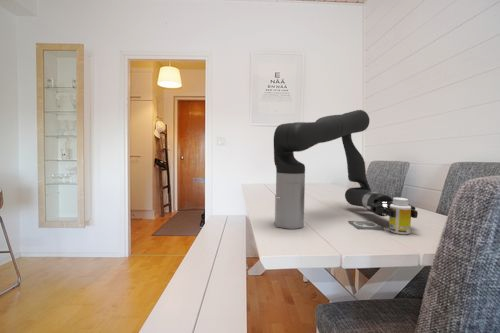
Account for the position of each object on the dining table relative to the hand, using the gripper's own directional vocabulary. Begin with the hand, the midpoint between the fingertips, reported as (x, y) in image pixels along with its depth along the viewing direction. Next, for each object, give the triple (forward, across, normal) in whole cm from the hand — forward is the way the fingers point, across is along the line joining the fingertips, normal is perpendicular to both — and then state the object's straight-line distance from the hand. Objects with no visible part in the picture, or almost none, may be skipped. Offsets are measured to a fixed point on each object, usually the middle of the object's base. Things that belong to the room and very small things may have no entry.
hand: (405, 214), depth 73 cm
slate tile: (-9, -8, +6) cm, 13 cm away
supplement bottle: (-3, 0, +6) cm, 7 cm away
